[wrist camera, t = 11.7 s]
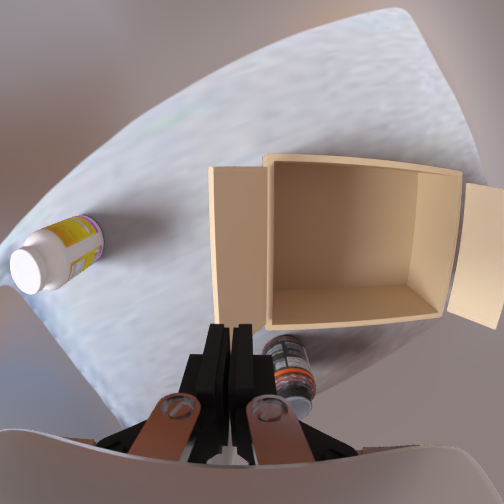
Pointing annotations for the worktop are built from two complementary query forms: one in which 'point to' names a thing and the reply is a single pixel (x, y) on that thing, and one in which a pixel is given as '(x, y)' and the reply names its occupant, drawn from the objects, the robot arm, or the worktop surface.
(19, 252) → the supplement bottle
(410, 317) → the carton
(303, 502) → the robot arm
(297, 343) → the supplement bottle
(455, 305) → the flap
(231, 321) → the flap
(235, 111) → the worktop surface
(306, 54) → the worktop surface
